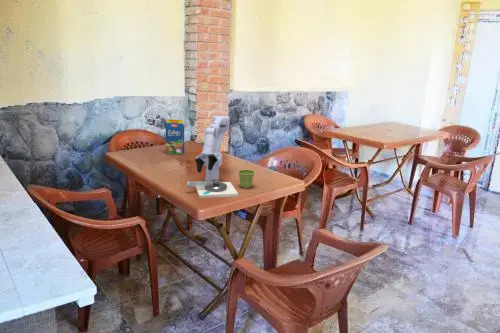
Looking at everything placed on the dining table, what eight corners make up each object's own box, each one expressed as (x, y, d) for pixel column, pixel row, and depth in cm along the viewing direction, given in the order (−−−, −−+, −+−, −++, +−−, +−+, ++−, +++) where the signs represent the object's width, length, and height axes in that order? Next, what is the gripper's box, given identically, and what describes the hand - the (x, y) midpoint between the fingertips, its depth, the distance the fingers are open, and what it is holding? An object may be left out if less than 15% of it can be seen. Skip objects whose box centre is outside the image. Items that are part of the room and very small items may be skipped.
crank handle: (224, 184, 227) (224, 176, 226) (228, 191, 215) (229, 183, 214) (185, 185, 221) (185, 178, 220) (188, 193, 210) (187, 185, 209)
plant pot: (240, 189, 224) (240, 174, 221) (235, 184, 232) (236, 169, 230) (256, 188, 226) (256, 173, 224) (251, 183, 235) (252, 169, 233)
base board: (194, 186, 227) (194, 183, 226) (230, 184, 232) (230, 181, 231) (199, 198, 208) (199, 195, 208) (237, 196, 213) (237, 193, 213)
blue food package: (168, 152, 301) (167, 118, 294) (184, 153, 300) (184, 119, 293) (165, 154, 295) (165, 119, 288) (182, 155, 294) (181, 120, 287)
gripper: (193, 147, 222) (189, 169, 217) (213, 142, 214) (209, 166, 208) (202, 152, 227) (198, 174, 222) (222, 148, 219) (218, 171, 213)
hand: (204, 170), depth 215 cm, fingers open, 7 cm apart
